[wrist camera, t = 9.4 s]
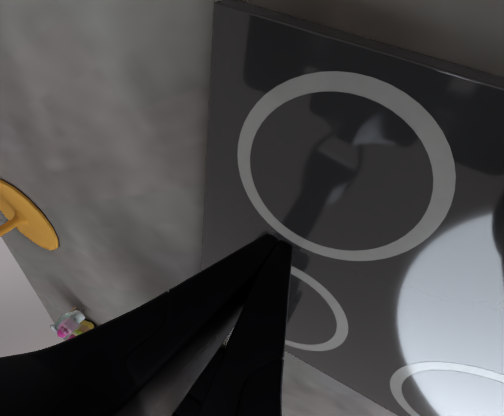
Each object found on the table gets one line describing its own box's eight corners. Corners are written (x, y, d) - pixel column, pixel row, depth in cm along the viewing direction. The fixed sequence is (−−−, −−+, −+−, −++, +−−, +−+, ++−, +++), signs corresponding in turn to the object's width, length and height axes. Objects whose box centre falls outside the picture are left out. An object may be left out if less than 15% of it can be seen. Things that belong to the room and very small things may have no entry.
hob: (522, 469, 19) (525, 489, 18) (206, 291, 24) (199, 301, 23) (1344, 321, 5) (1475, 376, 5) (229, -3, 11) (212, 1, 10)
